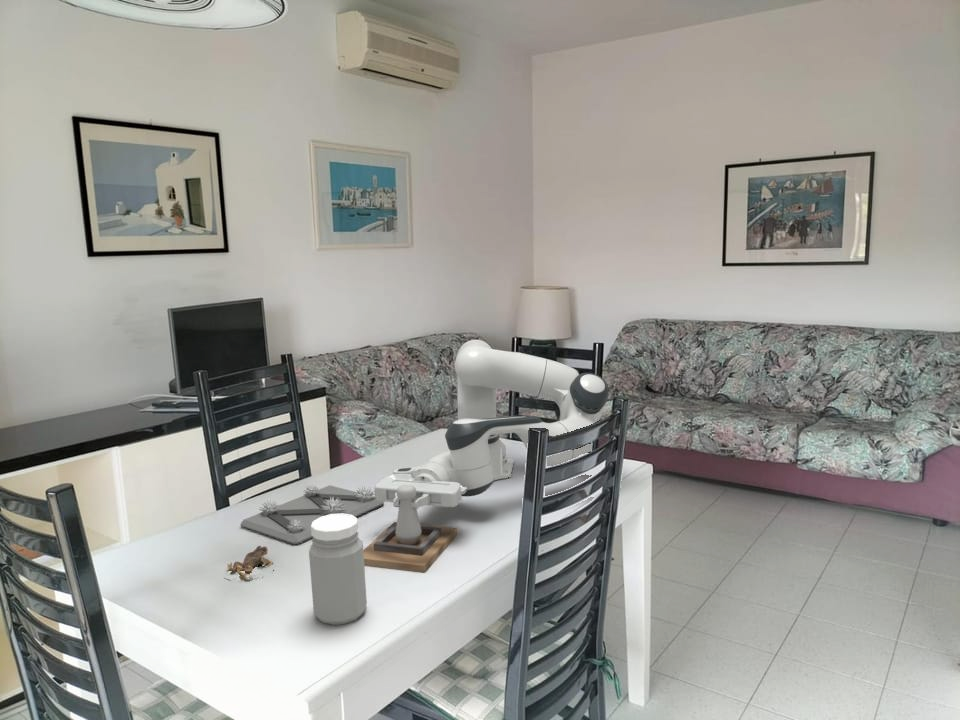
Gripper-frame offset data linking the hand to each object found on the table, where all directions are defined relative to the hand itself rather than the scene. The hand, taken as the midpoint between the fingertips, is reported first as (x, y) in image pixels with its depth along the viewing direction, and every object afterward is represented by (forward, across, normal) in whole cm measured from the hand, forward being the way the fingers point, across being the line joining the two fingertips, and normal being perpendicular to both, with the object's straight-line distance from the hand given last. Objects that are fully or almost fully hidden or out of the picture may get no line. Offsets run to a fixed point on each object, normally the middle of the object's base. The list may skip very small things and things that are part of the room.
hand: (404, 504), depth 155 cm
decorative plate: (-13, +31, -11) cm, 36 cm away
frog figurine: (+16, +29, -11) cm, 35 cm away
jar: (+28, +1, -11) cm, 30 cm away
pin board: (-1, 0, -11) cm, 11 cm away
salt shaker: (-1, 0, -9) cm, 9 cm away
